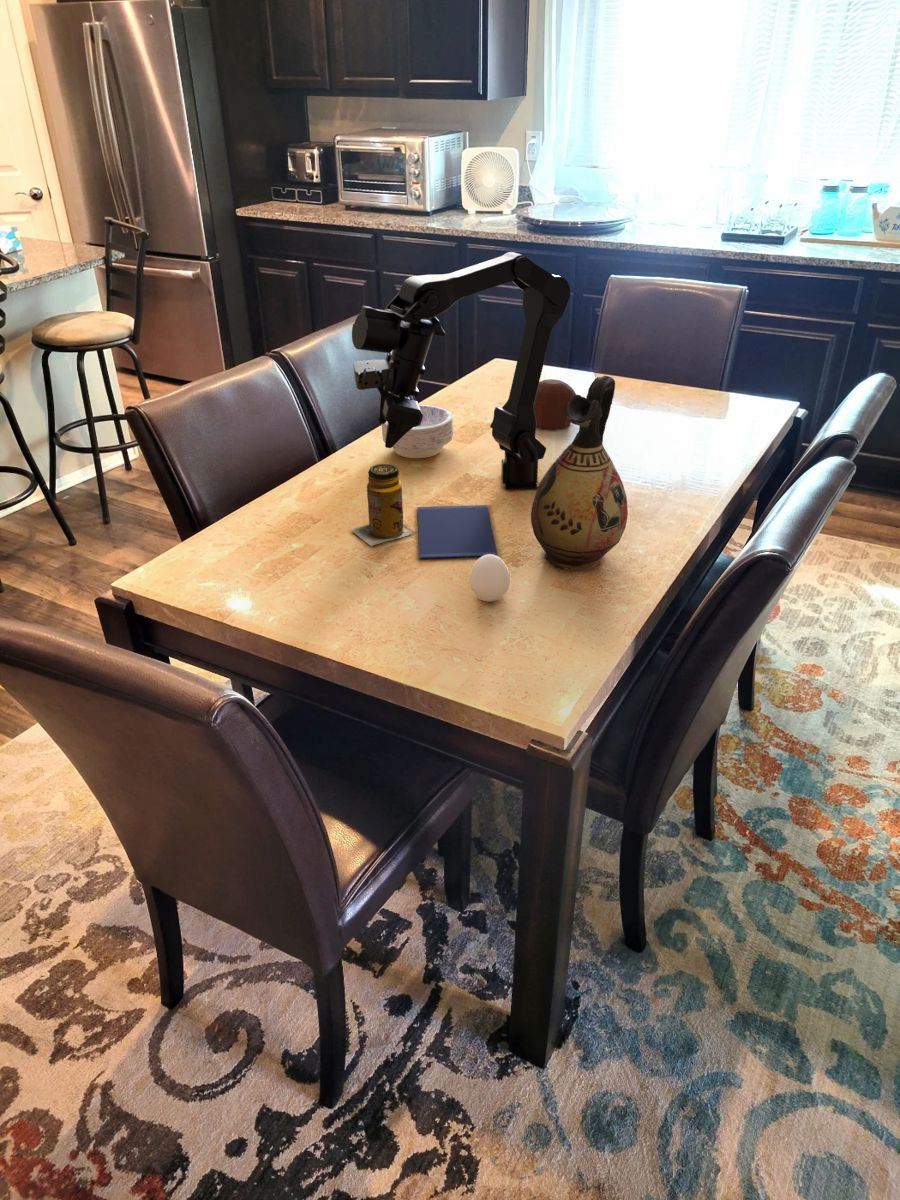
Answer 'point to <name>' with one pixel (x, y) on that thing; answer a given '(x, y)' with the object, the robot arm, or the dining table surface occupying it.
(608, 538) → the ceramic jug
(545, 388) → the muffin
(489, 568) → the egg
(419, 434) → the paper bowls
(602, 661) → the dining table surface
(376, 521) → the condiment
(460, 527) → the cloth
